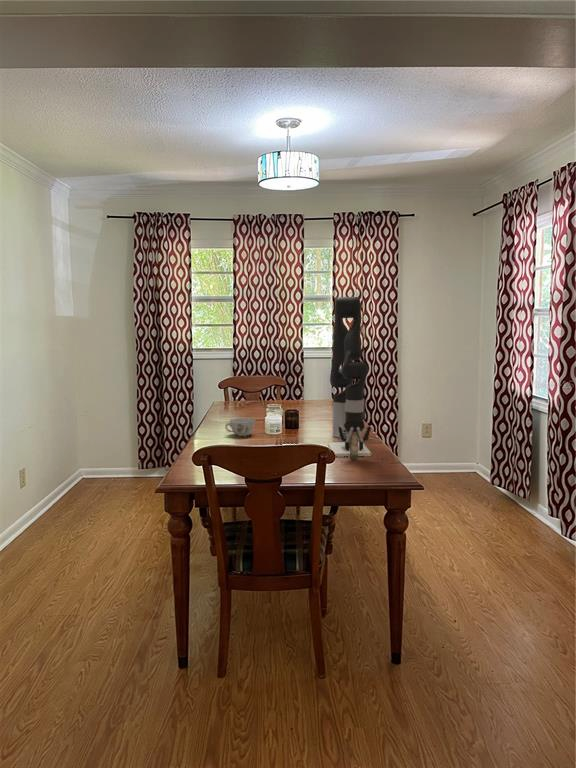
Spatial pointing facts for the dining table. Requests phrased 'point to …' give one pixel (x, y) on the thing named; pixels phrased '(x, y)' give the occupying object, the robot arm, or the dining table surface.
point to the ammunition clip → (287, 441)
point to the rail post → (354, 446)
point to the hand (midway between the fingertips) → (354, 450)
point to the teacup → (241, 426)
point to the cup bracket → (341, 451)
